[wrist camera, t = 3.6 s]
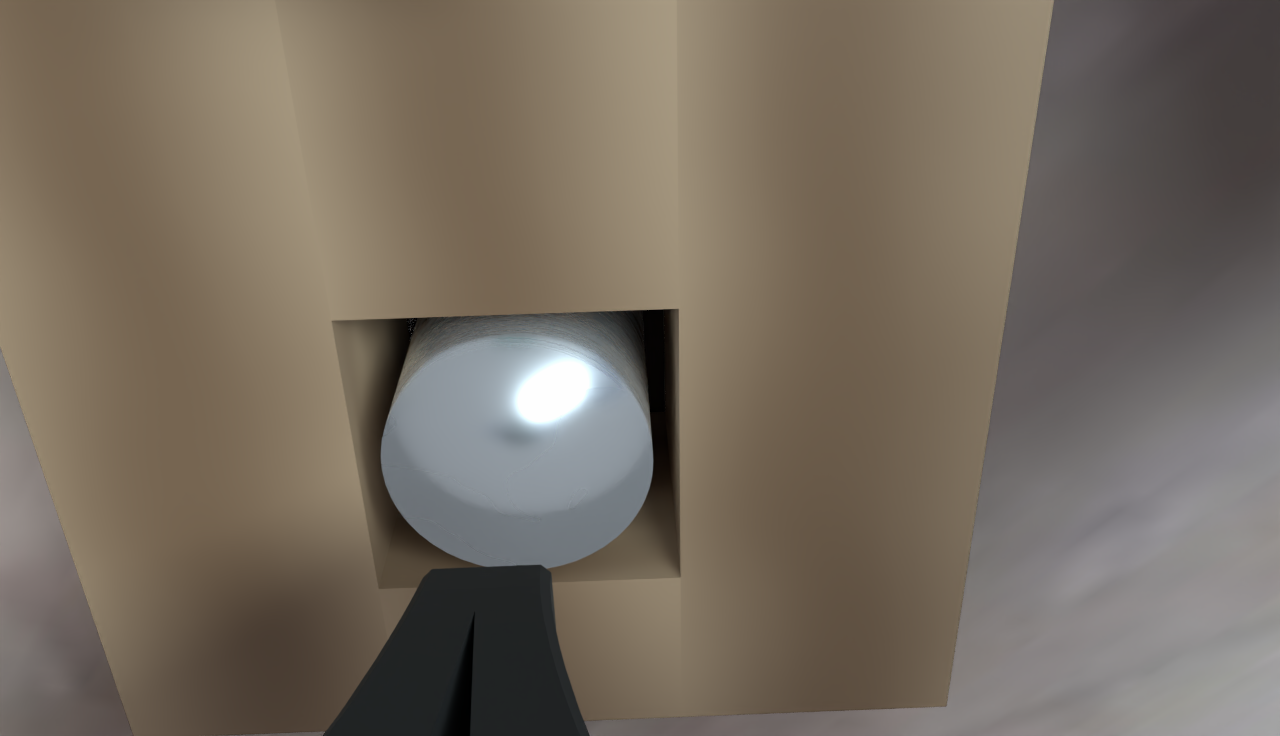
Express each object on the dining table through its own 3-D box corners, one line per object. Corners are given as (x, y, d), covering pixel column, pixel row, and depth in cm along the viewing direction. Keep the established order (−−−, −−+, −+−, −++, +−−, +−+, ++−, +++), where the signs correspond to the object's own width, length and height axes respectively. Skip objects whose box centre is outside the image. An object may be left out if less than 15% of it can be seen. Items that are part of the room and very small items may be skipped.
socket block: (1041, -986, 13) (1256, -1322, 9) (884, 528, 24) (946, 706, 20) (-178, -965, 13) (-564, -1300, 9) (218, 553, 24) (134, 738, 20)
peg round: (640, 206, 20) (650, 340, 16) (644, 399, 22) (655, 565, 18) (413, 214, 20) (361, 350, 16) (438, 406, 22) (398, 575, 18)
